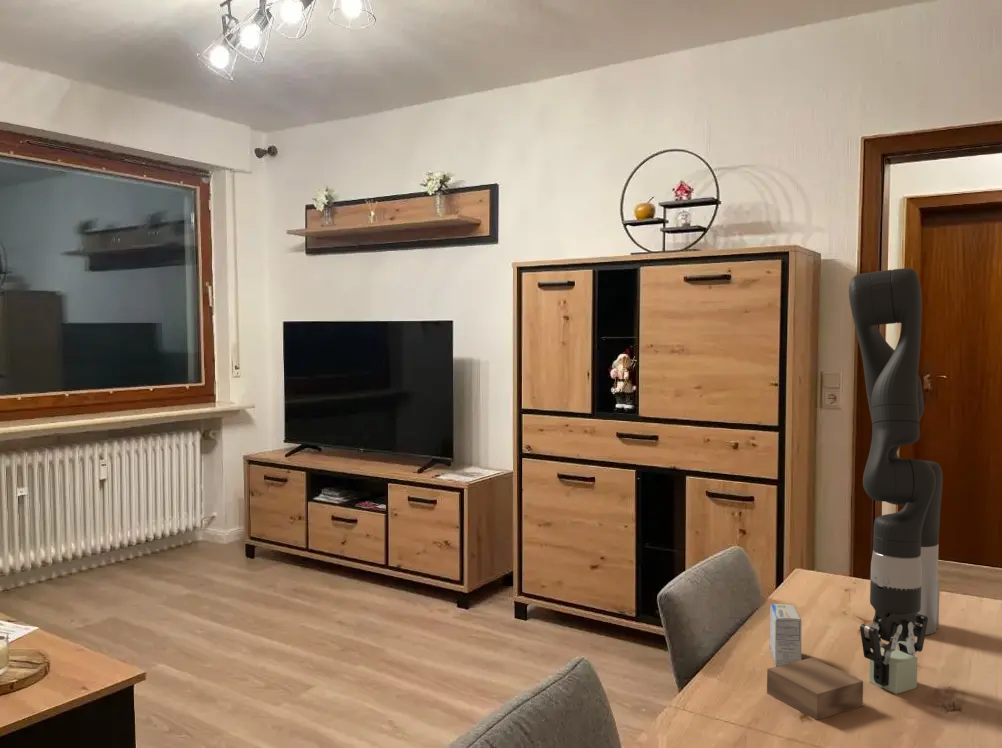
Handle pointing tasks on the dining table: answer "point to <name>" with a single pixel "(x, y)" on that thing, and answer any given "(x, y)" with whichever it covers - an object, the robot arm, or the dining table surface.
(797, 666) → the walnut block
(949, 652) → the dining table surface
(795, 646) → the medicine box
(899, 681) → the sage green cube
